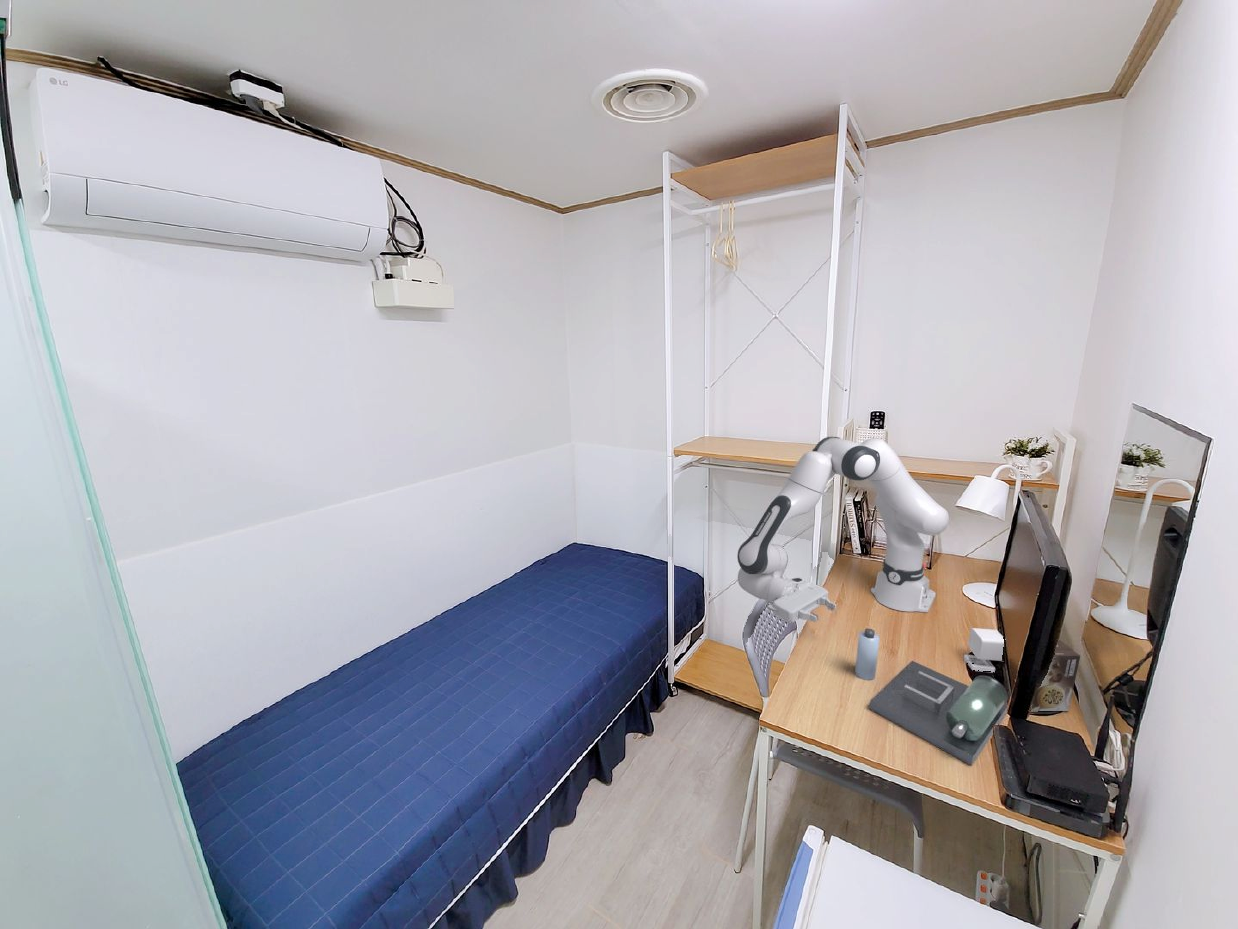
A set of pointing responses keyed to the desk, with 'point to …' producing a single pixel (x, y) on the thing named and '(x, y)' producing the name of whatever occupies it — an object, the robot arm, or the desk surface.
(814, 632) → the desk surface
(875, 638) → the capped plastic bottle
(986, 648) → the security camera
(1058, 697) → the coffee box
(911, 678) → the motor mount
